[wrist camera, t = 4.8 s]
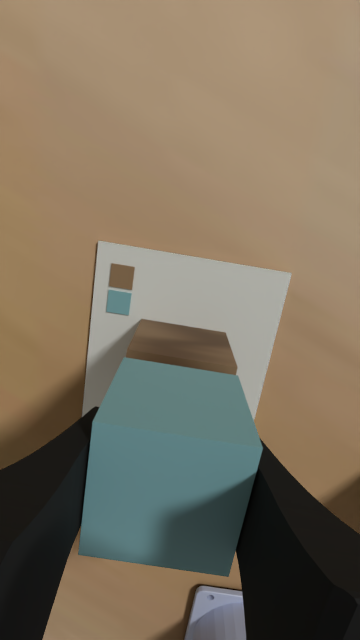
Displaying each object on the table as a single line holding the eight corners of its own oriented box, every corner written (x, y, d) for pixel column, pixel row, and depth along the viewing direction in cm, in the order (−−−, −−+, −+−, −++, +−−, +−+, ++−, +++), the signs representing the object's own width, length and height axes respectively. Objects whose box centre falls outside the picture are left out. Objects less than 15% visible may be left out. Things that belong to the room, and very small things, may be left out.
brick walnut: (225, 332, 18) (237, 367, 14) (209, 406, 20) (216, 460, 15) (141, 318, 18) (126, 349, 14) (131, 394, 20) (114, 444, 15)
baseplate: (290, 272, 18) (292, 273, 17) (241, 464, 21) (242, 467, 21) (99, 240, 17) (97, 240, 17) (80, 439, 21) (79, 442, 20)
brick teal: (238, 375, 14) (262, 448, 9) (216, 471, 15) (228, 576, 10) (123, 357, 13) (92, 421, 9) (111, 455, 15) (78, 554, 10)
